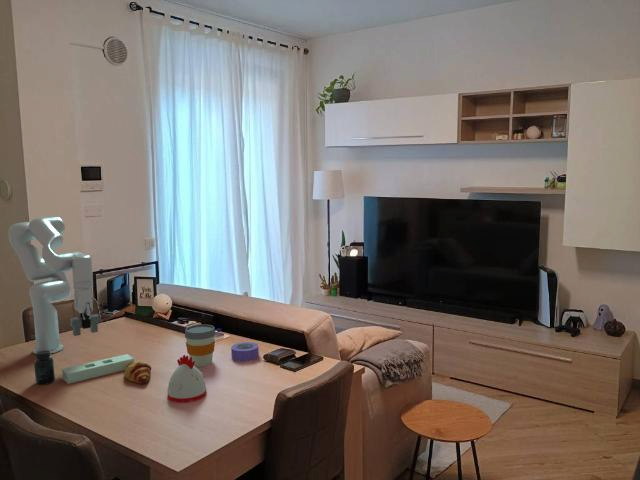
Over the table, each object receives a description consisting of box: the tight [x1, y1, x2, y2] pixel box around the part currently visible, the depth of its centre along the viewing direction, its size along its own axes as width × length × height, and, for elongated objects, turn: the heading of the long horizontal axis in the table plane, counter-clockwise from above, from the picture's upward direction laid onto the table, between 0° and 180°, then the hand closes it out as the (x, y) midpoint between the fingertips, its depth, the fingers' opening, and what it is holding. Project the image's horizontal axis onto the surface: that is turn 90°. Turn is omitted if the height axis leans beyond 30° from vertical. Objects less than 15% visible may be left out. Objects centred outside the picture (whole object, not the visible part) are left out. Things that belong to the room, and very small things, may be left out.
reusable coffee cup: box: [184, 324, 216, 368], centre depth 232 cm, size 13×13×15 cm
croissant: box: [123, 361, 152, 384], centre depth 217 cm, size 21×10×8 cm, turn 34°
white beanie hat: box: [167, 354, 208, 404], centre depth 200 cm, size 14×14×15 cm
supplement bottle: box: [33, 350, 56, 386], centre depth 213 cm, size 7×7×12 cm
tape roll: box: [230, 341, 260, 363], centre depth 239 cm, size 12×12×5 cm
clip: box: [69, 313, 101, 337], centre depth 231 cm, size 3×11×7 cm, turn 129°
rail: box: [61, 353, 135, 385], centre depth 222 cm, size 7×26×4 cm, turn 129°
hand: (85, 326), depth 231 cm, fingers closed on clip, 3 cm apart
